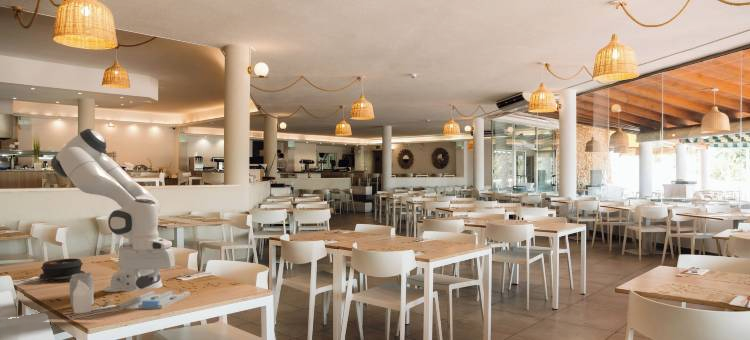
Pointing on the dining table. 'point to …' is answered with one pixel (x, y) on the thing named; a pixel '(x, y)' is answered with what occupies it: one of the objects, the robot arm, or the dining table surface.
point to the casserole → (61, 269)
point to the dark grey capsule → (146, 281)
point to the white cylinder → (82, 298)
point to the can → (85, 279)
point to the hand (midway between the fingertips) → (146, 281)
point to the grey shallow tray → (153, 300)
